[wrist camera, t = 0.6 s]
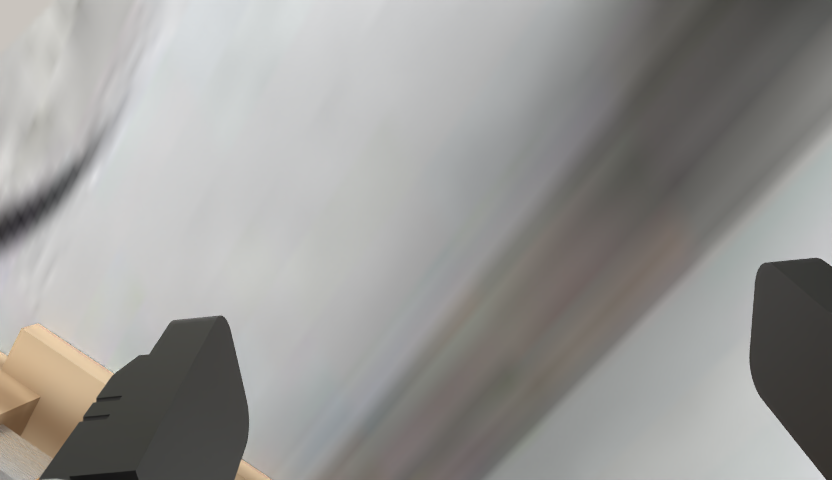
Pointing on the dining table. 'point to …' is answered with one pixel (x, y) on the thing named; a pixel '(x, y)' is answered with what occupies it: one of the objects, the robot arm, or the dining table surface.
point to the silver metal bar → (20, 457)
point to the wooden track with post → (55, 391)
